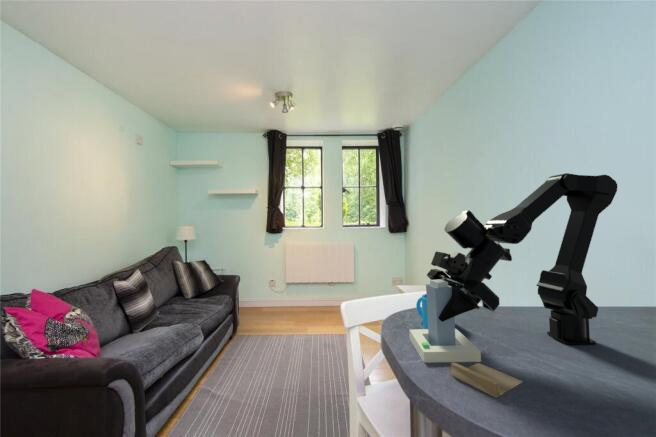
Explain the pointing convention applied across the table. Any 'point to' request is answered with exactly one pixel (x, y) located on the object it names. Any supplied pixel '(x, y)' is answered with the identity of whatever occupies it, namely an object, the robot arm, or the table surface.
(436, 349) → the block
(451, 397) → the table surface
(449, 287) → the plug
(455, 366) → the tan base plate
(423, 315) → the mug
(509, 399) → the table surface
